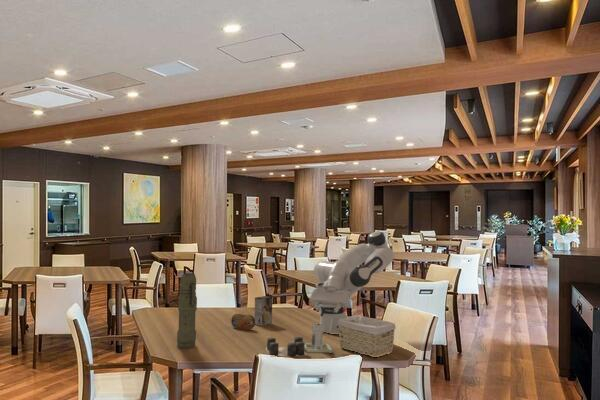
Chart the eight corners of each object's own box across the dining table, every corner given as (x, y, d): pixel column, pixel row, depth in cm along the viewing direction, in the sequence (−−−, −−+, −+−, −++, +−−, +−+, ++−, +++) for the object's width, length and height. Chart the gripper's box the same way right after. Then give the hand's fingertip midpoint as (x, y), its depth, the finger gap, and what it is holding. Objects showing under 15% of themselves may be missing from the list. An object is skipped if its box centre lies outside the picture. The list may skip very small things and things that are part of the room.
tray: (327, 347, 230) (327, 343, 230) (332, 354, 218) (332, 349, 218) (303, 347, 229) (303, 343, 229) (306, 354, 217) (306, 350, 217)
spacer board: (302, 349, 226) (303, 336, 226) (307, 358, 211) (307, 344, 211) (265, 349, 224) (265, 336, 224) (267, 359, 208) (267, 345, 209)
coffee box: (264, 322, 286) (264, 295, 286) (272, 323, 282) (272, 296, 282) (253, 324, 278) (254, 297, 279) (262, 326, 274) (262, 298, 275)
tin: (230, 327, 269) (231, 313, 269) (234, 326, 271) (234, 312, 272) (252, 331, 262) (253, 315, 262) (255, 330, 264) (256, 315, 265)
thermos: (186, 342, 234) (189, 271, 236) (201, 346, 226) (203, 274, 228) (171, 345, 228) (173, 273, 230) (185, 350, 220) (187, 275, 222)
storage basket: (396, 353, 222) (397, 322, 222) (376, 360, 210) (376, 327, 211) (357, 343, 239) (357, 314, 239) (336, 349, 227) (336, 318, 228)
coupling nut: (321, 348, 225) (322, 323, 226) (322, 351, 221) (323, 325, 221) (311, 348, 225) (311, 323, 225) (312, 351, 220) (312, 325, 221)
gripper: (354, 293, 237) (347, 316, 228) (316, 290, 246) (309, 313, 237) (351, 285, 233) (344, 309, 224) (313, 283, 242) (305, 305, 233)
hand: (326, 311), depth 231 cm, fingers open, 8 cm apart
